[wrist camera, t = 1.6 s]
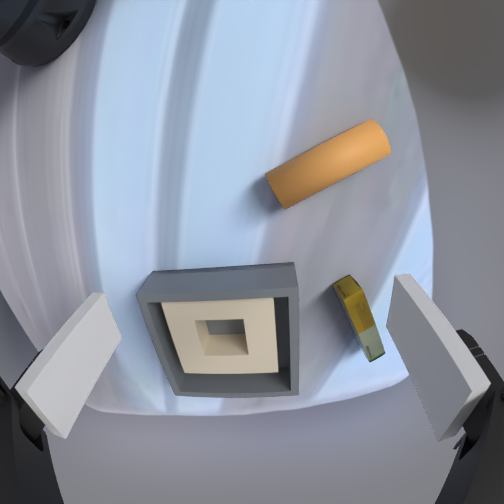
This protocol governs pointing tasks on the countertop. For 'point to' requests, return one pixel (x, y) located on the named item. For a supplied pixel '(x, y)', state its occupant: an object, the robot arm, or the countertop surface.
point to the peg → (328, 163)
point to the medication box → (359, 317)
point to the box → (226, 329)
